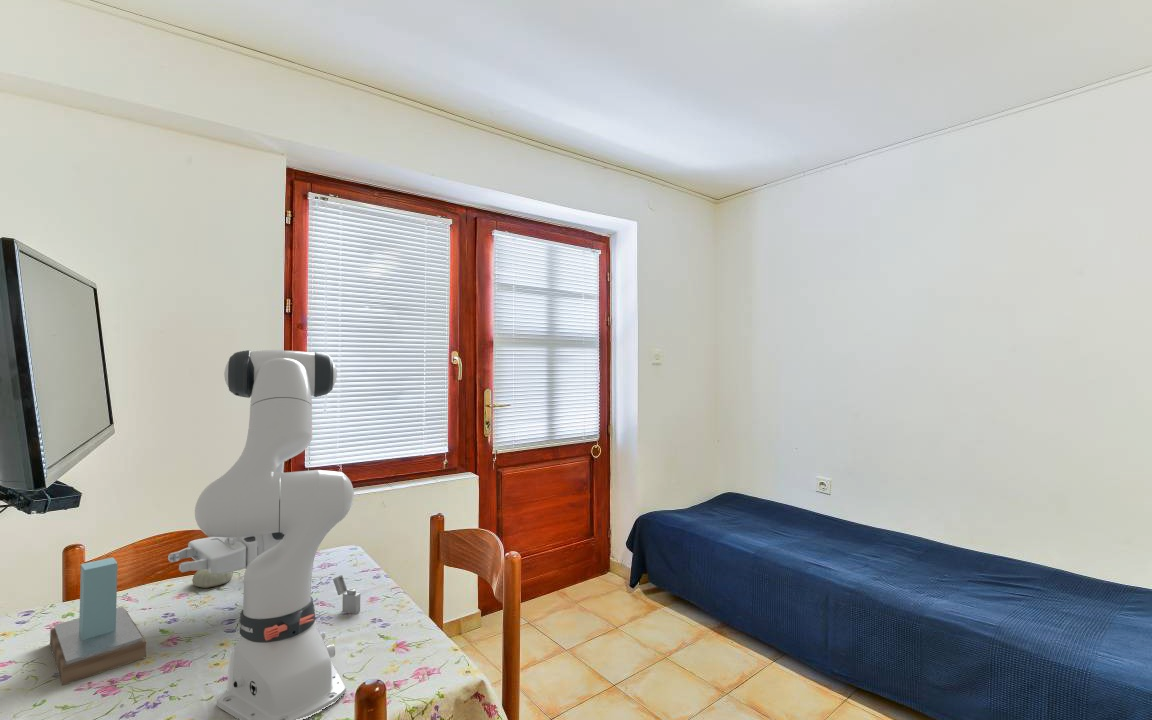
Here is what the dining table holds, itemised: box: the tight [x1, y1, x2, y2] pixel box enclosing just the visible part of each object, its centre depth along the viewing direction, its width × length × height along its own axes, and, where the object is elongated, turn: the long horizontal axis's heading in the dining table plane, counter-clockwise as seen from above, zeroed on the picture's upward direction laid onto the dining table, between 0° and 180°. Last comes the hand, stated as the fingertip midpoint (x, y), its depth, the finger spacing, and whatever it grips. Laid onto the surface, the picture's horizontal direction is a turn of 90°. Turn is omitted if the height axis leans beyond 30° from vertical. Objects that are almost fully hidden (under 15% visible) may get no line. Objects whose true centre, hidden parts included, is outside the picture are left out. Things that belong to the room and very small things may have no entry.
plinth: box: [49, 606, 147, 686], centre depth 105 cm, size 22×12×4 cm, turn 50°
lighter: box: [332, 575, 361, 615], centre depth 123 cm, size 7×2×8 cm, turn 71°
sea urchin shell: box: [191, 569, 235, 589], centre depth 139 cm, size 9×8×8 cm
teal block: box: [78, 557, 118, 640], centre depth 105 cm, size 5×5×14 cm
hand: (174, 563), depth 115 cm, fingers open, 8 cm apart
